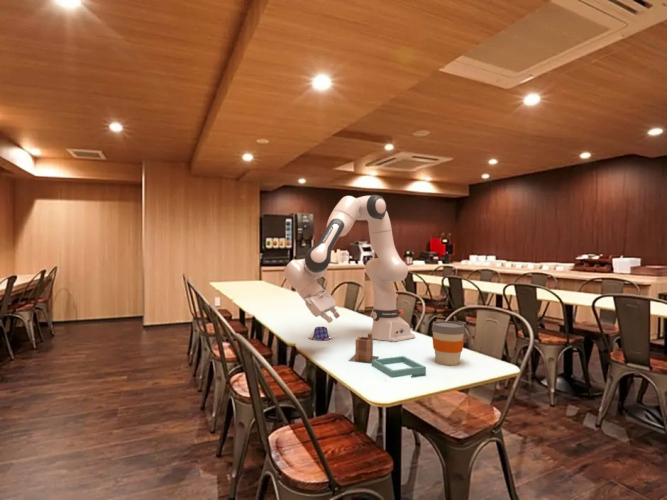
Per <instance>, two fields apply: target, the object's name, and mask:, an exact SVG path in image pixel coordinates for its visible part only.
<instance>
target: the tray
mask: <svg viewBox="0 0 667 500" xmlns="http://www.w3.org/2000/svg"><path fill="white" fill-rule="evenodd" d="M401 363H404V364H405V365H408V366H409V367H408V368H407V367H406V368H399V369H392V368H391V367H388V366H386V365H392V364H401ZM371 366H372V367H374V368H375V369H377V370H379V371H380V372H382V373H383V374H386V375H387V376H388V377H390V378H397V377H406V376H410V375H411V376H410V378H417V377H424V376H426V375H427V367H426V366H425V365H423V364H421V363H419V362H417V361H415V360H412V359H411V358H408V357H406V356H404V355H401V356H394V357H391V356H390V357H385V358H383V357H382V358H378V359H374V360H372V364H371Z"/></svg>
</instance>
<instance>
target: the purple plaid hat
mask: <svg viewBox="0 0 667 500" xmlns="http://www.w3.org/2000/svg"><path fill="white" fill-rule="evenodd" d="M313 330H314V331H313V333H312V334H310V335H308V338H309V339H311V340H315V341H317V340H316V339H320V340H319V341H323V340H322V339H324V340H325V341H326V340H331V339H333V338H334V337H333V335H331V334H329V331H328V328H327V327H325V326H316V327H315V328H314V329H313ZM311 337H312V338H313V339H312V338H311ZM329 337H331V338H330V339H329Z"/></svg>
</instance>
